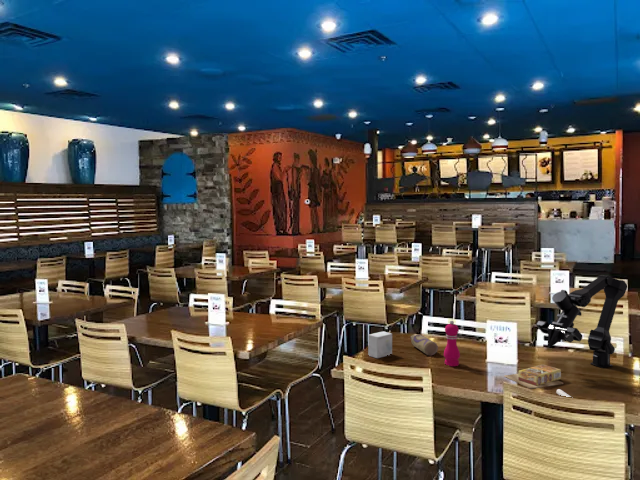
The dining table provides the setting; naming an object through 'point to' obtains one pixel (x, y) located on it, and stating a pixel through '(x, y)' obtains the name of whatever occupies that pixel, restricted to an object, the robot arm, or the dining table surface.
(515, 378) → the plate
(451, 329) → the pepper mill
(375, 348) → the skincare box
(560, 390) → the marker
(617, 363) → the dining table surface
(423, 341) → the decorative bottle
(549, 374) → the candy box
